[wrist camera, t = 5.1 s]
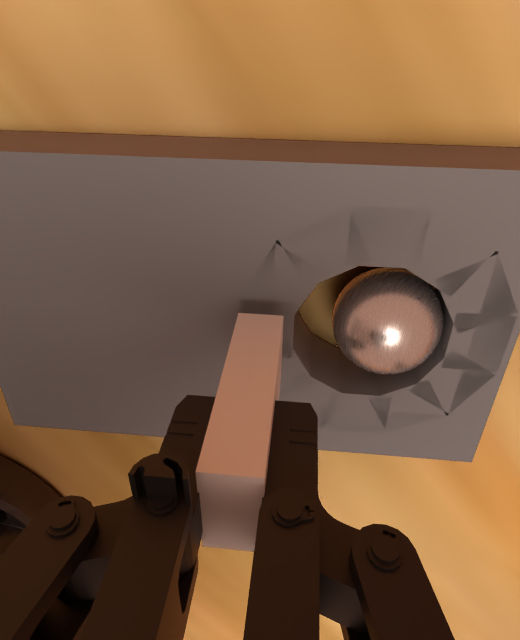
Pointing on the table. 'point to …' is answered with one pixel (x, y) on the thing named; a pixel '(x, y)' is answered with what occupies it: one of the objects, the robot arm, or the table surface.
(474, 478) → the table surface
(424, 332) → the ball
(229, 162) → the plate
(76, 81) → the table surface
